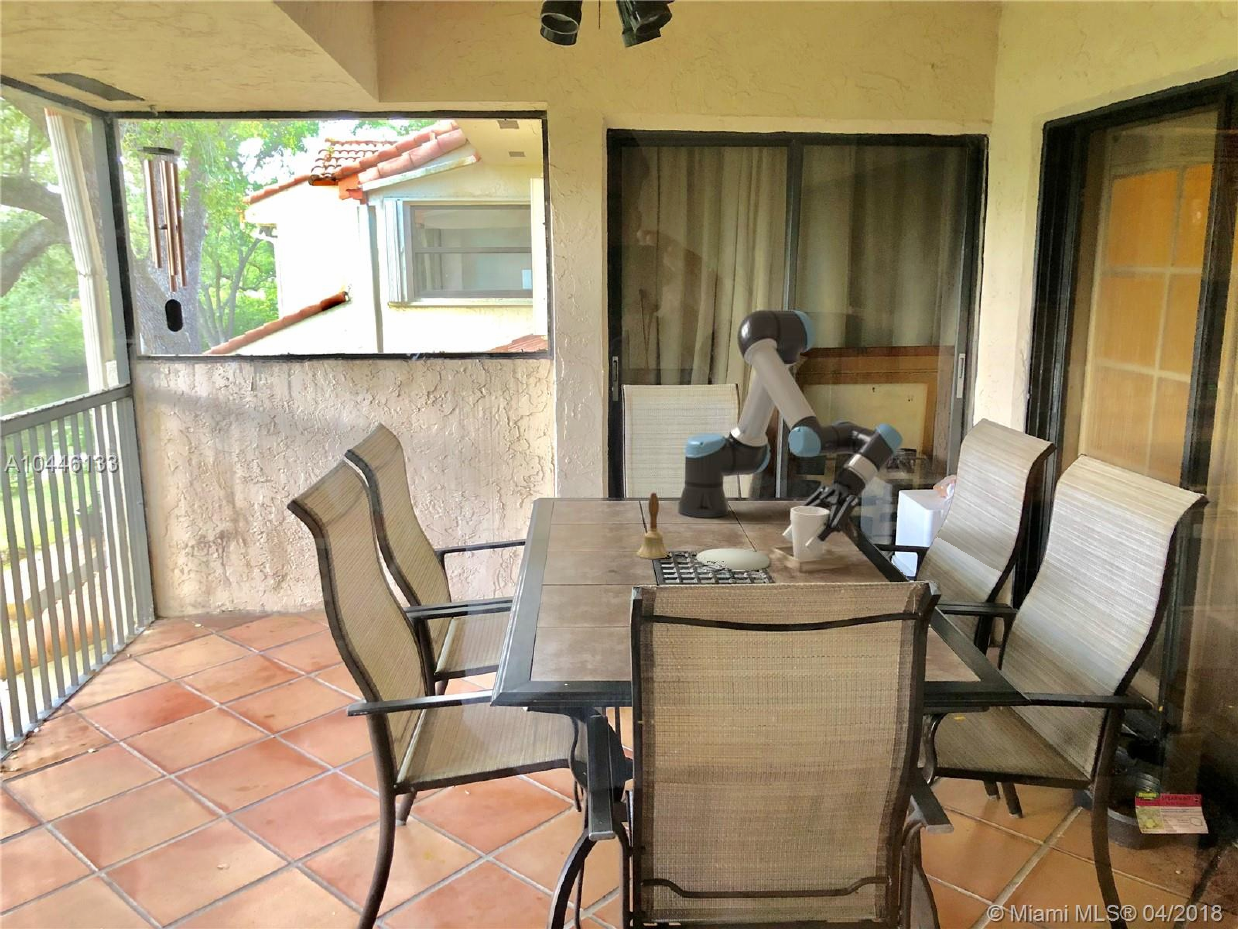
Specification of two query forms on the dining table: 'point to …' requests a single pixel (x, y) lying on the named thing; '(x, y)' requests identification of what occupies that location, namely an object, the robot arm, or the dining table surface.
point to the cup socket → (827, 562)
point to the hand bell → (653, 535)
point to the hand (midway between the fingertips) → (797, 543)
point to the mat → (734, 558)
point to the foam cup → (806, 530)
